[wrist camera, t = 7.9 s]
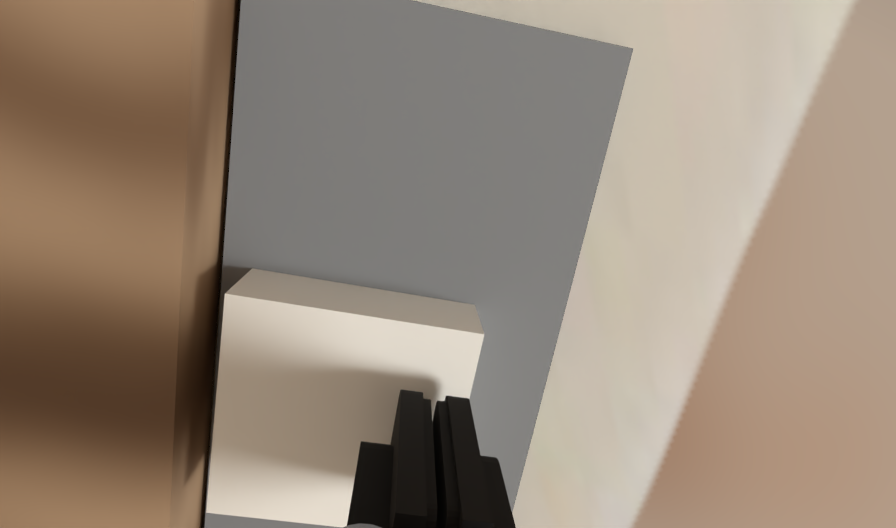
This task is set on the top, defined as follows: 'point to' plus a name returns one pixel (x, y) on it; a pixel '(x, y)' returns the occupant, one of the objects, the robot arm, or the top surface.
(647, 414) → the top surface
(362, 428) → the block
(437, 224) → the mat
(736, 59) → the top surface
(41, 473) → the board
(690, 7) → the top surface
